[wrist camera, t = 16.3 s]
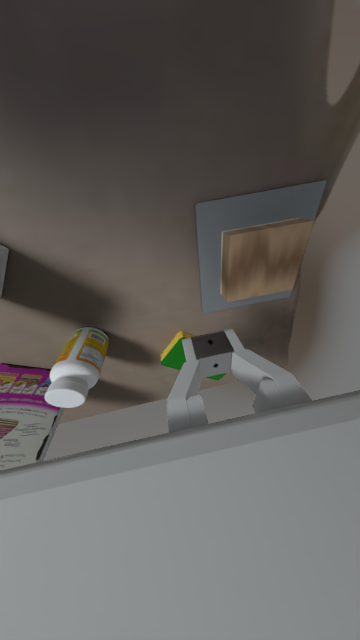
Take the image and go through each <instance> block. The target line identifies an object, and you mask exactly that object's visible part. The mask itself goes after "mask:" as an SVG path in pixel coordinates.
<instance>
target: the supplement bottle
mask: <svg viewBox="0 0 360 640" xmlns="http://www.w3.org/2000/svg"><path fill="white" fill-rule="evenodd" d="M108 345H109V339H108V337H107V335H106V334H105V333H104V332H102V331H101V330H99V329H96V328H92V327H84V328H80V329H78V330H76V331H75V332H74V333H73V334H72V335H71V337H70V339H69V341H68V342H67V344H66V346H65V347H64V349H63V351H62V352H61V354H60V356H59V357H58V359H57V361H56V362H55V364H54V366H53V367H52V369H51V371H50V380H51V382H52V383H51V385H50V386H49V388H48V390H47V392H46V394H45V396H44V398H45V401H46V402H48V403H49V404H51V405H53V406H56V407H63V408H72V407H77V406H80V405H81V404H83V403H84V402H85V400H86V397H87V394H88V392H89V389H90V388H92V387H93V386H94V385H95V384H96V383H97V381H98V379H99V376H100V372H101V369H102V365H103V362H104V359H105V355H106V352H107V349H108Z"/></svg>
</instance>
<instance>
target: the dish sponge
mask: <svg viewBox="0 0 360 640" xmlns="http://www.w3.org/2000/svg"><path fill="white" fill-rule="evenodd" d="M190 337H195V336H193V335H191V334H188V333H186V332H183V331H180V332H178V334H177V335H176V336H175V337H174V339H173V340H172V341H171V343H170V344H169V345H168V347H167V348H166V349H165V350H164V352H163V353H162V354H161V364H162V365H164V366H167V367H171V368H174V369H178V370H181V368H182V366H183V364H184V363H185V362H186V357H185V353H184V348H183V343H182V339H185V338H190ZM225 374H226V373H223V374H218V375H213V376H209V377H206V378H210V379H214V380H219V379H220V378H222V377H223V376H224V375H225Z"/></svg>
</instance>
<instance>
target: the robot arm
mask: <svg viewBox="0 0 360 640" xmlns="http://www.w3.org/2000/svg"><path fill="white" fill-rule="evenodd" d="M182 343H183V348H184V353H185V357H186V362H185V363H184V364H183V366H182V368H181V370H180V373H179V375H178V377H177V379H176V381H175V384H174V386H173V388H172V390H171V392H170V394H169V397H168V399H167V414H168V427H169V433H166V434H161V435H157V436H152V437H148V438H143V439H139V440H134V441H130V442H125V443H121V444H116V445H112V446H107V447H103V448H99V449H94V450H89V451H85V452H80V453H76V454H72V455H67V456H63V457H58V458H54V459H49V460H45V461H40V462H36V463H31V464H27V465H22V466H18V467H13V468H9V469H5V470H0V640H360V390H358V391H354V392H350V393H345V394H341V395H336V396H331V397H327V398H323V399H318V400H314V401H312V400H311V398H310V397H309V396H308V394H307V393H306V392H305V391H304V389H303V388H302V387H301V385H300V384H299V383H298V381H297V380H296V379H295V377H294V376H293V375H292V374H291V373H289V372H288V371H286V370H284V369H282V368H281V367H279V366H277V365H275V364H274V363H272V362H270V361H268V360H266V359H265V358H263V357H261V356H259V355H258V354H256V353H254V352H252V351H250V350H249V349H245V348H244V347H243V345H242V344H241V342H240V340H239V339H238V337H237V335H236V334H235V332H234V330H233V329H232V328H231V329H227V330H222V331H218V332H213V333H209V334H205V335H200V336H195V337H190V338H185V339H182ZM228 372H231V374H233V375H234V376H235V377H236V378H237V379H238V380H240V381H241V382H242V383H243V384H244V385H246V386H247V387H248V388H249V389H250V390H251V391H253V392H254V393H255V394H256V397H255V400H254V403H253V408H254V411H255V414H251V415H246V416H242V417H238V418H233V419H228V420H225V421H220V422H215V423H210V424H208V420H207V416H206V413H205V409H204V405H203V401H202V397H201V396H199V395H198V392H199V388H200V385H201V381H202V378H205V377H209V376H213V375H218V374H223V373H228Z"/></svg>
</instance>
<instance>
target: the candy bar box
mask: <svg viewBox="0 0 360 640" xmlns="http://www.w3.org/2000/svg"><path fill="white" fill-rule="evenodd" d="M50 371H51V370H50V369H41V368H33V367H24V366H15V365H6V364H0V470H5V469H9V468H13V467H18V466H22V465H27V464H31V463H36V462H40V461H43V460H44V457H45V454H46V452H47V450H48V448H49V445H50V443H51V440H52V437H53V435H54V433H55V431H56V428H57V426H58V423H59V421H60V418H61V416H62V413H63V411H64V409H65V408H63V407H56V406H53V405H51V404H49V403H48V402H46V401H45V398H44V396H45V394H46V392H47V390H48V388H49V386H50V385H51V383H52V382H51V380H50Z"/></svg>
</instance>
